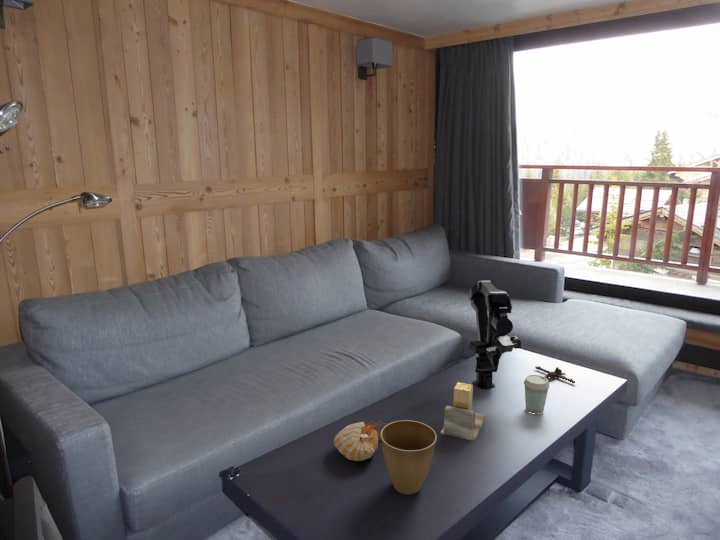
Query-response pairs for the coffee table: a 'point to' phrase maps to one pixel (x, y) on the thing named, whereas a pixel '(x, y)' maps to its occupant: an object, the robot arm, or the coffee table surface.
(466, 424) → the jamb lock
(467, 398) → the latch bar
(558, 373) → the dark brown branching piece
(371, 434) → the nautilus
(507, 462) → the coffee table surface
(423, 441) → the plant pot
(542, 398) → the coffee cup
